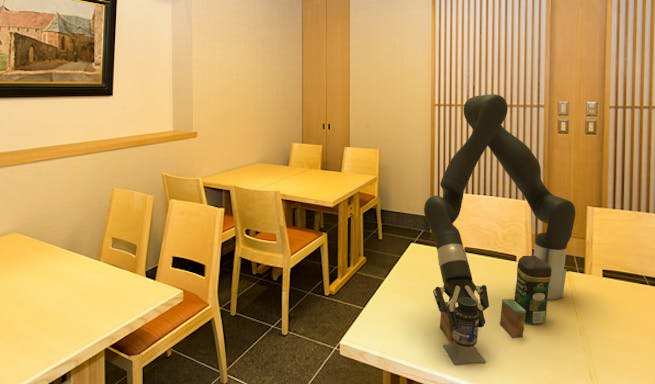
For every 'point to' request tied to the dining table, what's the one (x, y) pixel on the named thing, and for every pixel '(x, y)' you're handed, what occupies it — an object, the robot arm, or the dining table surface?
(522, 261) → the coffee jar
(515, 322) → the walnut channel
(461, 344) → the pill bottle
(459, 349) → the slate pad
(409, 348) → the dining table surface
